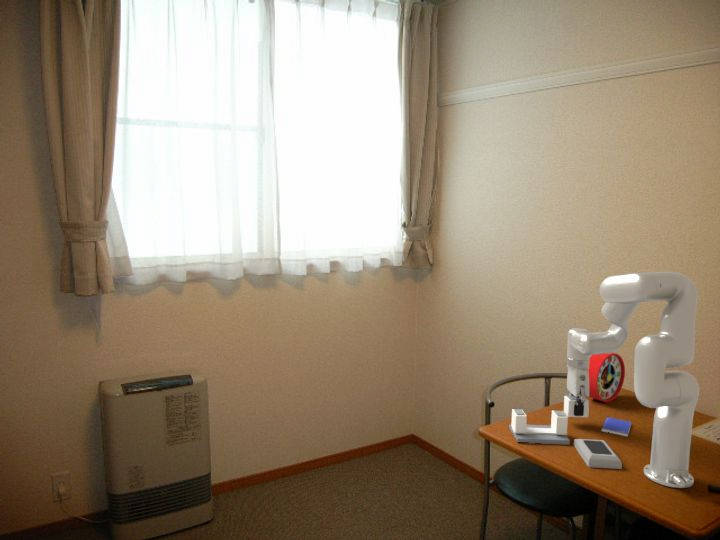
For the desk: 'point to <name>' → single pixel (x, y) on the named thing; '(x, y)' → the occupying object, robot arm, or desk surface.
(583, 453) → the grey bevelled device
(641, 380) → the robot arm
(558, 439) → the board
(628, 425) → the hard drive
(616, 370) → the toy clock
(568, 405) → the module block
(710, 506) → the desk surface
